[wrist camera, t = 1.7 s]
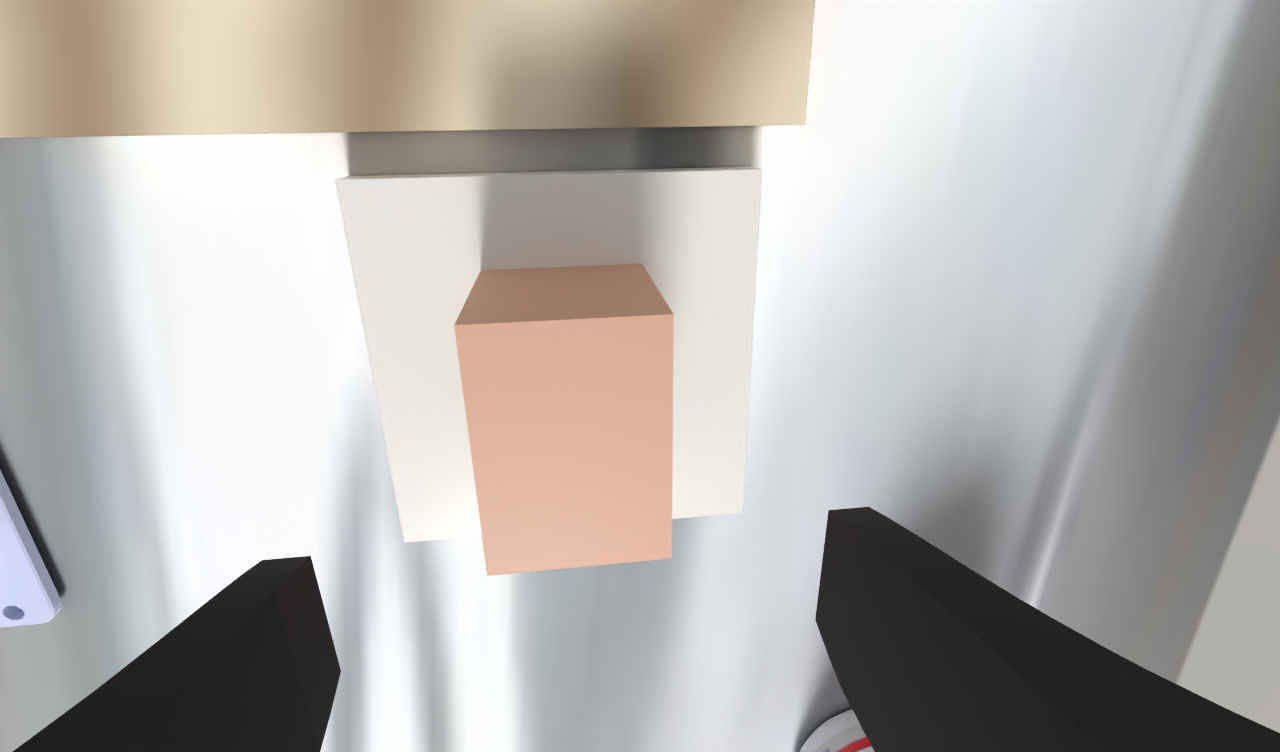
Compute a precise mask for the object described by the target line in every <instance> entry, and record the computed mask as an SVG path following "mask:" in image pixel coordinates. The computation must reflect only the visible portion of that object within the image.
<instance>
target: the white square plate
mask: <svg viewBox="0 0 1280 752" xmlns="http://www.w3.org/2000/svg"><path fill="white" fill-rule="evenodd" d="M335 182H336V187H337V193H338V198H339V203H340V208H341V214H342V219H343V224H344V229H345V234H346V240H347V245H348V250H349V255H350V261H351V266H352V271H353V276H354V282H355V287H356V292H357V297H358V303H359V308H360V313H361V318H362V323H363V329H364V334H365V339H366V344H367V350H368V355H369V360H370V365H371V371H372V376H373V381H374V386H375V392H376V397H377V402H378V407H379V413H380V418H381V423H382V428H383V433H384V439H385V444H386V449H387V454H388V460H389V465H390V470H391V475H392V481H393V486H394V491H395V496H396V502H397V507H398V512H399V517H400V522H401V528H402V533H403V538H404V543H405V542H416V541H428V540H439V539H450V538H462V537H473V536H482V532H481V524H480V517H479V509H478V502H477V494H476V487H475V479H474V472H473V464H472V457H471V449H470V442H469V434H468V426H467V419H466V411H465V404H464V396H463V389H462V381H461V374H460V366H459V359H458V351H457V344H456V336H455V329H454V324H455V322H456V320H457V318H458V316H459V314H460V312H461V310H462V308H463V306H464V304H465V302H466V300H467V298H468V295H469V293H470V291H471V289H472V287H473V285H474V283H475V281H476V279H477V277H478V275H479V273H480V271H481V270H498V269H522V268H547V267H571V266H596V265H620V264H643V266H644V268H645V269H646V271H647V272H648V274H649V276H650V277H651V279H652V280H653V282H654V284H655V285H656V287H657V288H658V290H659V292H660V293H661V295H662V296H663V298H664V300H665V301H666V303H667V304H668V306H669V308H670V309H671V311H672V312H673V314H674V332H673V468H672V519H677V518H688V517H700V516H711V515H722V514H734V513H742V509H743V492H744V475H745V458H746V441H747V423H748V406H749V389H750V372H751V355H752V338H753V320H754V303H755V286H756V269H757V252H758V235H759V217H760V200H761V183H762V169H758V168H754V167H717V168H675V169H633V170H590V171H548V172H506V173H464V174H421V175H379V176H347V177H344V178H340V179H336V180H335Z"/></svg>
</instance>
